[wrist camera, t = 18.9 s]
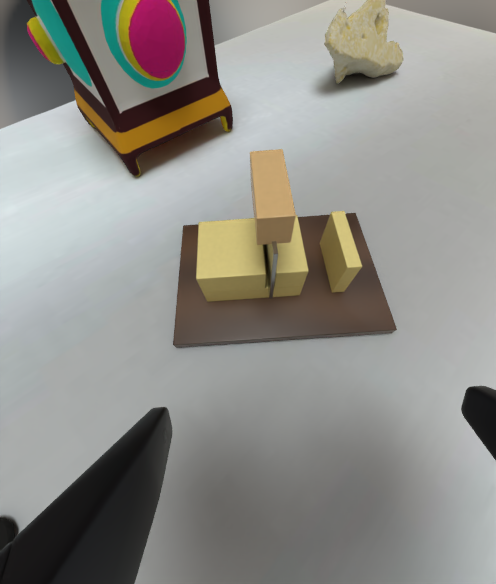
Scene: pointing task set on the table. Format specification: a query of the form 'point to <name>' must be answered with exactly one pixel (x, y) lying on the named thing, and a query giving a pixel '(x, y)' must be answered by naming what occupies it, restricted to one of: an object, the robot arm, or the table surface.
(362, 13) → the cream rough rock
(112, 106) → the decorative lantern
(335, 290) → the butter slice
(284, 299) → the board
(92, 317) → the table surface
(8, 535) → the cleaver
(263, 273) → the butter block
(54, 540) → the robot arm
